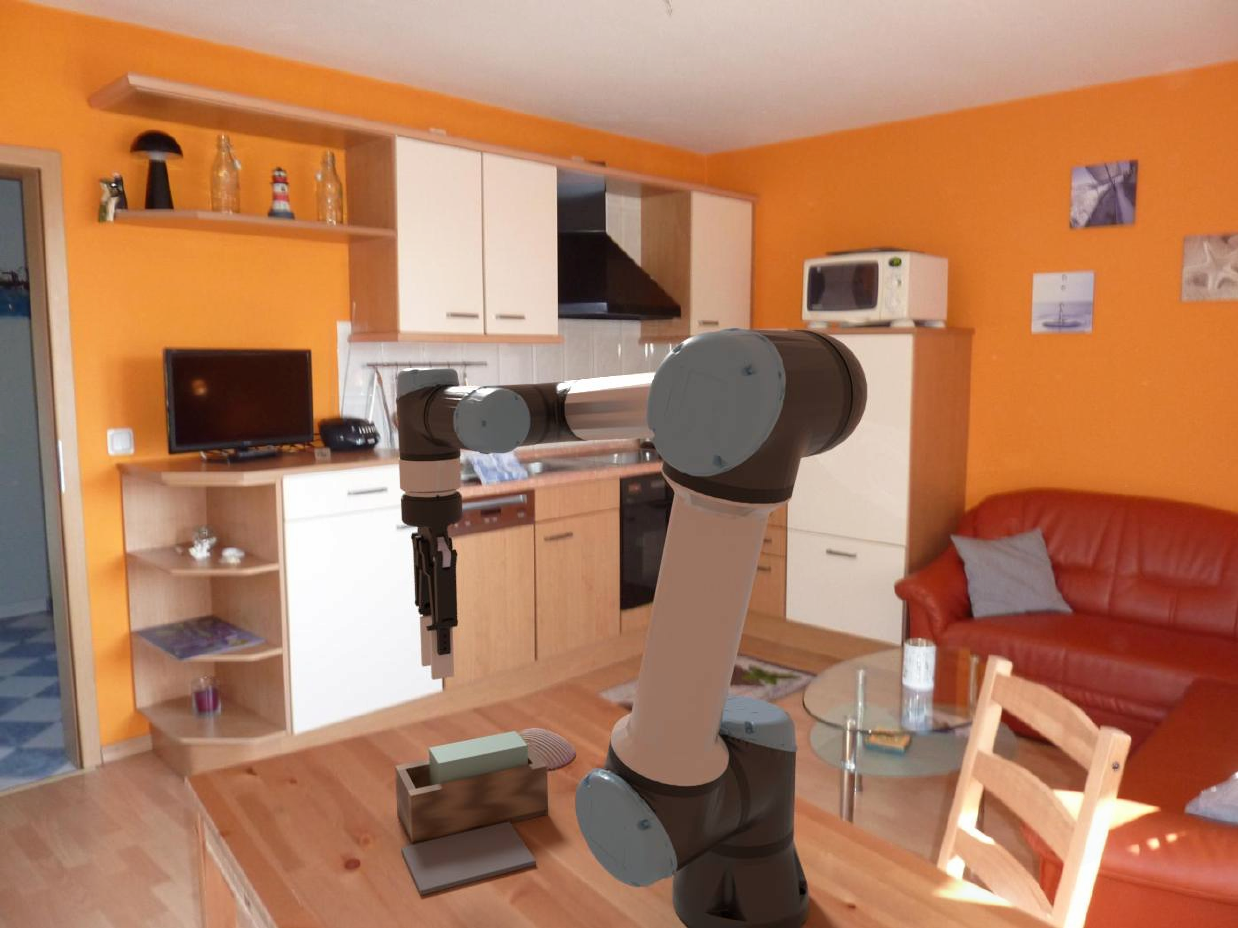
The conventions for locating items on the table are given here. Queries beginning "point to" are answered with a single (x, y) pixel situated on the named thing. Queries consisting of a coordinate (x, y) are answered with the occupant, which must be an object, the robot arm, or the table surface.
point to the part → (476, 757)
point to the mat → (466, 857)
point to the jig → (468, 799)
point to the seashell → (549, 746)
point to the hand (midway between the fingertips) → (437, 669)
